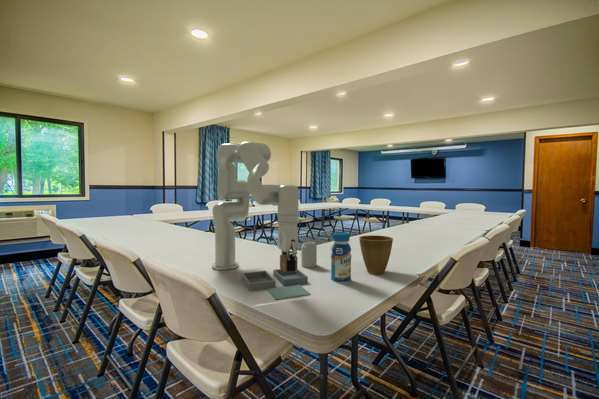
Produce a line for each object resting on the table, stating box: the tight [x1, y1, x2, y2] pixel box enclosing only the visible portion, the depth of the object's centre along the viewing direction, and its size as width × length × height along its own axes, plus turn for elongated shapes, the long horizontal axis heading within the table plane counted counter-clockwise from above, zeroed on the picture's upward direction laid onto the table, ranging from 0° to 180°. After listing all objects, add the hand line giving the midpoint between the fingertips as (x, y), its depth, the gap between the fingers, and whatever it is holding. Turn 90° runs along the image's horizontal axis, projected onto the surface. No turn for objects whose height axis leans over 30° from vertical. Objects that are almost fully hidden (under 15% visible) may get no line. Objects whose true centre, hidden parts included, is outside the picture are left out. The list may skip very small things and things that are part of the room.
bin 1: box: [241, 270, 276, 292], centre depth 113 cm, size 14×10×3 cm
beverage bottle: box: [330, 231, 352, 284], centre depth 117 cm, size 8×8×20 cm
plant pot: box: [358, 234, 394, 275], centre depth 130 cm, size 15×15×16 cm
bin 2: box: [272, 268, 309, 286], centre depth 118 cm, size 14×10×3 cm
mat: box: [266, 284, 311, 301], centre depth 104 cm, size 11×13×1 cm
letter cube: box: [279, 254, 299, 272], centre depth 103 cm, size 5×5×5 cm
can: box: [300, 241, 318, 269], centre depth 138 cm, size 8×8×12 cm
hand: (288, 268), depth 103 cm, fingers closed on letter cube, 4 cm apart
